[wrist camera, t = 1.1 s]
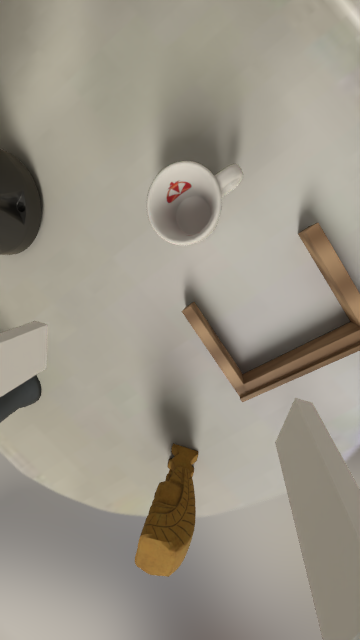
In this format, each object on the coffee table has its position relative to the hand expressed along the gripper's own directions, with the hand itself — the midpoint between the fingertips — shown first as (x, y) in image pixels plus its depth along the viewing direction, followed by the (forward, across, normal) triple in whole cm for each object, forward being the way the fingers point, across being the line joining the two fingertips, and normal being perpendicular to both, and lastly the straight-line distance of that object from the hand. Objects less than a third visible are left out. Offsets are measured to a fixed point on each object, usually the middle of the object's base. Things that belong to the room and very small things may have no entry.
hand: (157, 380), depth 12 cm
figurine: (+23, +4, -30) cm, 38 cm away
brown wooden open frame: (+23, +10, 0) cm, 25 cm away
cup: (+24, -3, +11) cm, 26 cm away
